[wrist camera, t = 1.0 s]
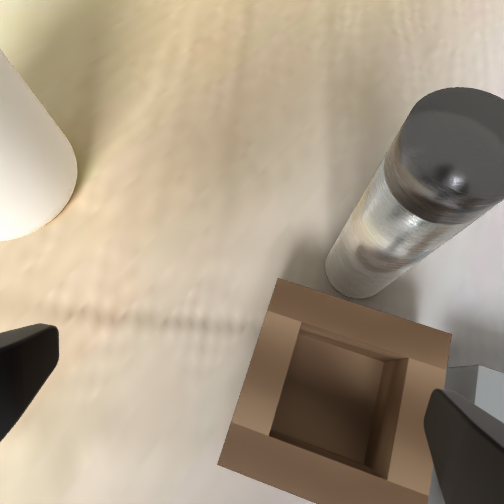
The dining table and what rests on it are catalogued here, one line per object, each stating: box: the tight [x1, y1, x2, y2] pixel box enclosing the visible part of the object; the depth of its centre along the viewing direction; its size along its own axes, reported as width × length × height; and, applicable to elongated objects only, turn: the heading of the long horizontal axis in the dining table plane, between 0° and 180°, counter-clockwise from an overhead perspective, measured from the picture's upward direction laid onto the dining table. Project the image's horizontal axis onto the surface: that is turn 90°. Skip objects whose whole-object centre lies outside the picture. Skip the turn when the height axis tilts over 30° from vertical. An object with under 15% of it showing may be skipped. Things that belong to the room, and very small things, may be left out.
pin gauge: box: [325, 87, 504, 299], centre depth 17 cm, size 4×4×13 cm
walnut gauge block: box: [217, 278, 452, 504], centre depth 19 cm, size 9×9×4 cm
